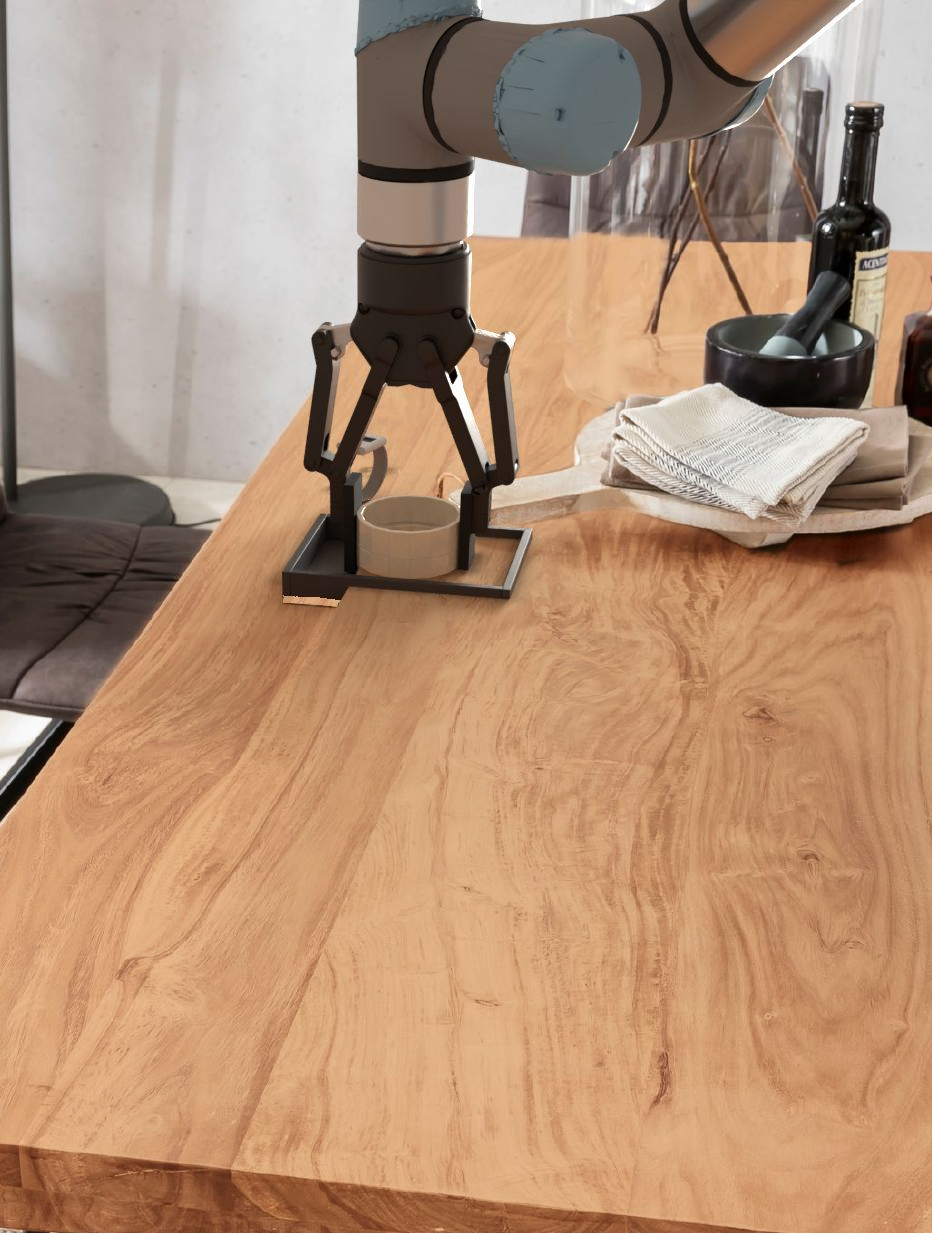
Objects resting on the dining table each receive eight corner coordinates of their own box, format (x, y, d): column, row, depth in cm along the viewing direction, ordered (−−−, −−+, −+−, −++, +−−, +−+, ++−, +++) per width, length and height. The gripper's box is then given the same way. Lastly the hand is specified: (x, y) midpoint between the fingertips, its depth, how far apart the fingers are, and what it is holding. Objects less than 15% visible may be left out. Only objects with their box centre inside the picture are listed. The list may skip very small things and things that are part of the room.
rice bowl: (469, 557, 128) (471, 498, 125) (451, 597, 122) (453, 536, 119) (369, 549, 129) (369, 491, 127) (346, 588, 123) (346, 528, 121)
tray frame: (531, 559, 129) (533, 528, 128) (508, 622, 119) (510, 590, 118) (320, 543, 132) (320, 513, 131) (282, 603, 123) (281, 571, 121)
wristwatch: (355, 515, 137) (355, 453, 134) (326, 508, 138) (325, 447, 135) (396, 492, 141) (396, 431, 138) (367, 485, 142) (367, 426, 140)
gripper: (578, 235, 114) (556, 561, 126) (277, 222, 118) (285, 539, 130) (564, 262, 108) (543, 602, 120) (248, 248, 112) (259, 578, 124)
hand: (409, 569), depth 125 cm, fingers closed on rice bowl, 8 cm apart
